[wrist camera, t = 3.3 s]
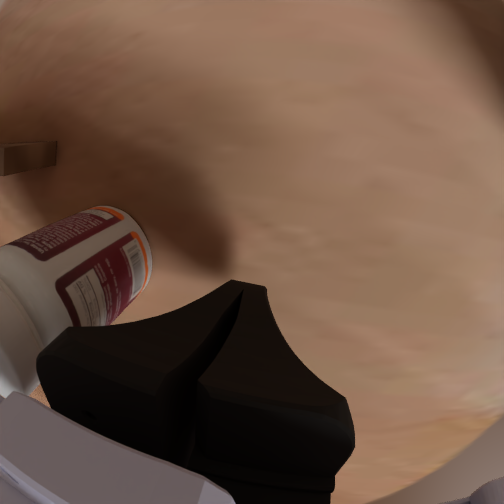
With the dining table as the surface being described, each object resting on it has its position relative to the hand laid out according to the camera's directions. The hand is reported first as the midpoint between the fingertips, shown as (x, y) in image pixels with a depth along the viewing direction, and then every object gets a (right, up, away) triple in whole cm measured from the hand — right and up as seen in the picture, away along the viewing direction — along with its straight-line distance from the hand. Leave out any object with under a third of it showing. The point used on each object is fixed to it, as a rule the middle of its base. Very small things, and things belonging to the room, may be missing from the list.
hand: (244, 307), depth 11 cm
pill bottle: (-6, +2, +3) cm, 7 cm away
